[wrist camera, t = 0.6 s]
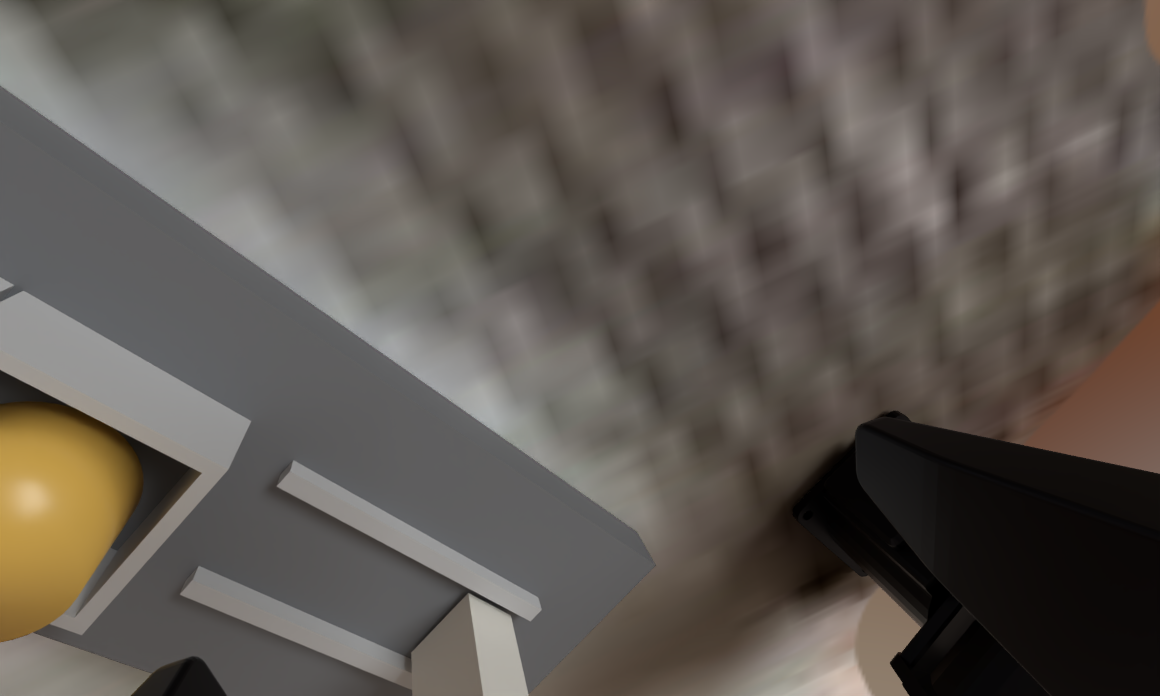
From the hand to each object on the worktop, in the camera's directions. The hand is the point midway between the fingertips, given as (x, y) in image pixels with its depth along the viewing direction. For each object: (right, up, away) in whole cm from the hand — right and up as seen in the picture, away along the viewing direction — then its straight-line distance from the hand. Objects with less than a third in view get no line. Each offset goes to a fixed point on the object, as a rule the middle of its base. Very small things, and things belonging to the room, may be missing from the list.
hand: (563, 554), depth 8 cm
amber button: (-12, 0, +6) cm, 14 cm away
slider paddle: (-4, -7, +13) cm, 16 cm away
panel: (-11, -1, +11) cm, 16 cm away
